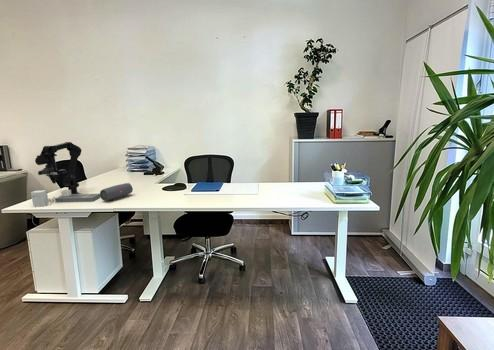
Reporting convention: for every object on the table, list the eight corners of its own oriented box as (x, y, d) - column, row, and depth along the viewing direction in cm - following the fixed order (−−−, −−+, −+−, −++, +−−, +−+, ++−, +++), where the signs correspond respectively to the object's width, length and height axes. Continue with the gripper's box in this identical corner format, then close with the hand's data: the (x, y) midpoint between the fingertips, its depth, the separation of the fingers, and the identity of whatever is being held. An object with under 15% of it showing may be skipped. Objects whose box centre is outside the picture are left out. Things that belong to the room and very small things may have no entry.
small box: (49, 204, 224) (46, 189, 221) (44, 206, 218) (42, 191, 216) (38, 204, 223) (35, 190, 221) (33, 206, 218) (30, 192, 216)
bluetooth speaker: (108, 203, 221) (106, 189, 219) (100, 201, 226) (98, 188, 224) (134, 195, 240) (132, 182, 238) (125, 194, 245) (124, 181, 243)
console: (65, 197, 239) (65, 194, 238) (101, 197, 238) (100, 193, 237) (55, 202, 227) (55, 198, 227) (92, 201, 226) (92, 197, 225)
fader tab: (65, 195, 234) (64, 190, 234) (71, 194, 234) (70, 189, 233) (61, 196, 230) (60, 191, 230) (68, 196, 230) (67, 191, 229)
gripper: (30, 165, 220) (34, 186, 223) (56, 164, 219) (59, 185, 222) (41, 162, 231) (45, 182, 234) (65, 161, 230) (68, 182, 233)
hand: (54, 183), depth 231 cm, fingers closed
